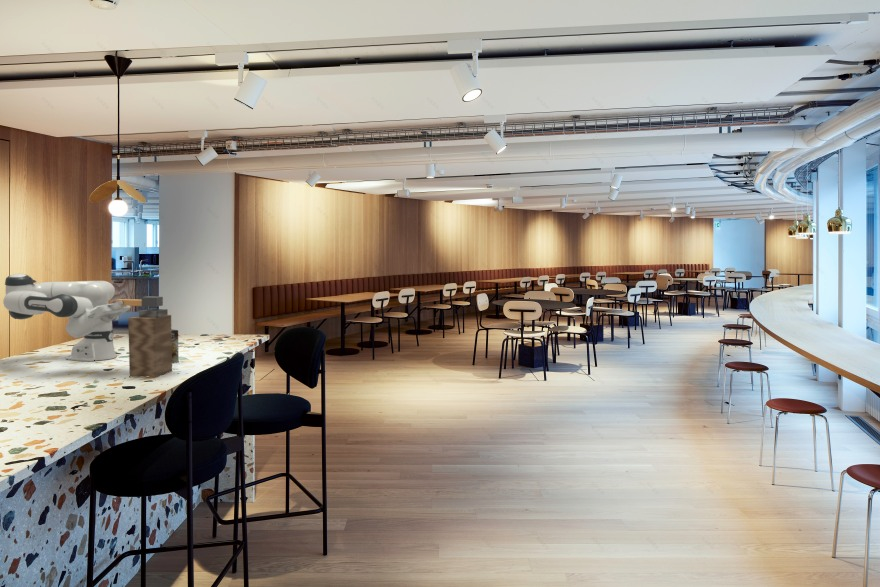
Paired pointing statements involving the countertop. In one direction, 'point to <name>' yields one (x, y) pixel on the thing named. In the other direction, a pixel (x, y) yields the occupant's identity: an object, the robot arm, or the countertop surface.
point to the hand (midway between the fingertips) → (125, 301)
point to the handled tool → (143, 301)
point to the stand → (150, 343)
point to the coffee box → (174, 346)
